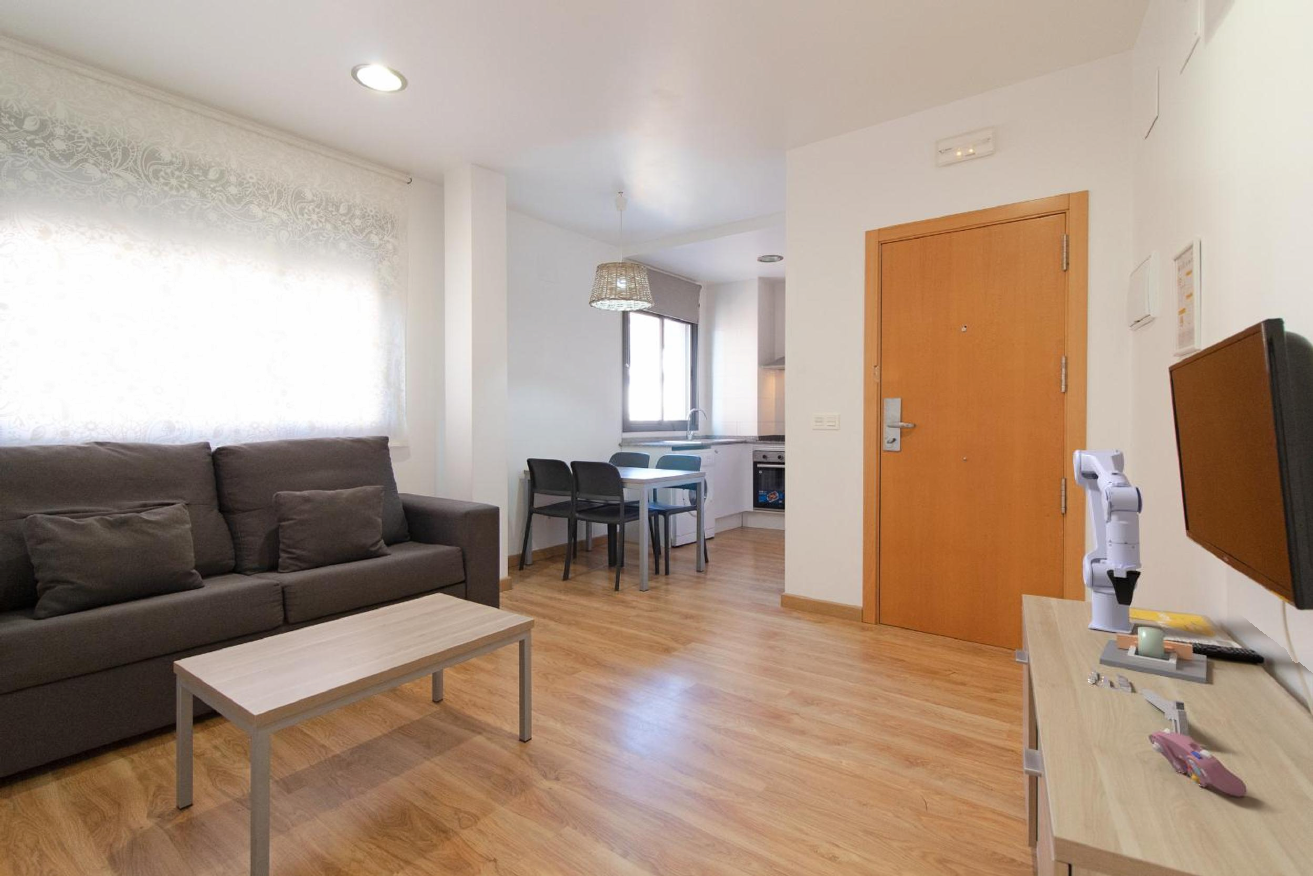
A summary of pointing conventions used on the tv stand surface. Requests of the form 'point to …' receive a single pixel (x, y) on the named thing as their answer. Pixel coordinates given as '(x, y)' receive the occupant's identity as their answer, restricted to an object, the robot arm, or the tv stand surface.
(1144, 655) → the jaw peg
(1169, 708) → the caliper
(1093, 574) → the robot arm
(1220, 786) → the video game controller
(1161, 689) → the tv stand surface
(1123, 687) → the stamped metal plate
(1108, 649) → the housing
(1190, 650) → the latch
